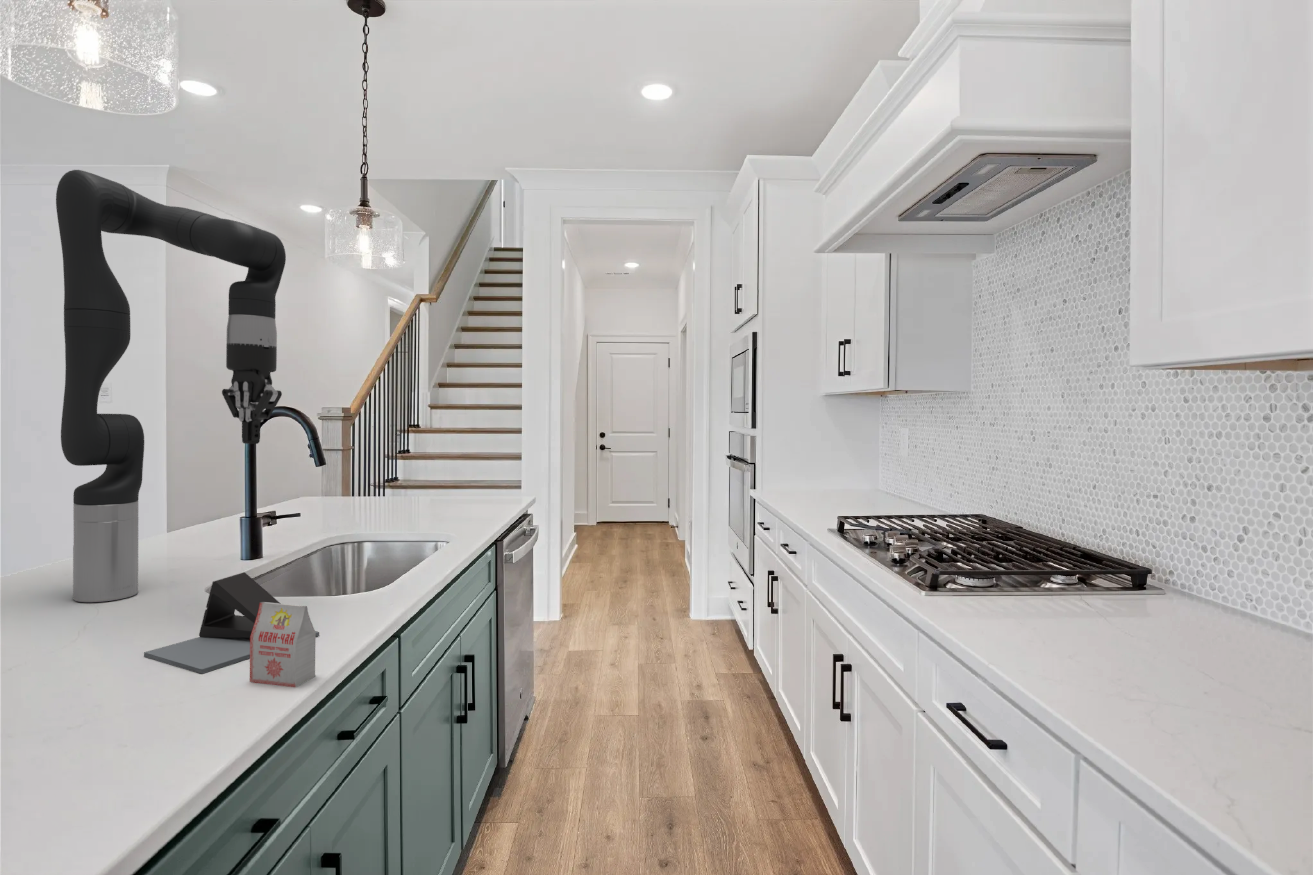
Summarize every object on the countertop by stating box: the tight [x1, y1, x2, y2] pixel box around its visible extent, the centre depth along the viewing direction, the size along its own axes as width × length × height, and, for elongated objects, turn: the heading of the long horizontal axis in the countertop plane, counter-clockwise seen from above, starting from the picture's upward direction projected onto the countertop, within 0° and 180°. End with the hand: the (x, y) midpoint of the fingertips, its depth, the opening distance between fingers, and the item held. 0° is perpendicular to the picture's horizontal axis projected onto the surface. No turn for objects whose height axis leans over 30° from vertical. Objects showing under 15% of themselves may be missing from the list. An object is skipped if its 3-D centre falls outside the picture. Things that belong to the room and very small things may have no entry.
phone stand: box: [198, 572, 282, 638], centre depth 105 cm, size 9×6×12 cm
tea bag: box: [249, 602, 317, 688], centre depth 90 cm, size 4×7×10 cm, turn 79°
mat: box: [143, 630, 320, 675], centre depth 102 cm, size 13×18×1 cm
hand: (251, 443), depth 120 cm, fingers closed
